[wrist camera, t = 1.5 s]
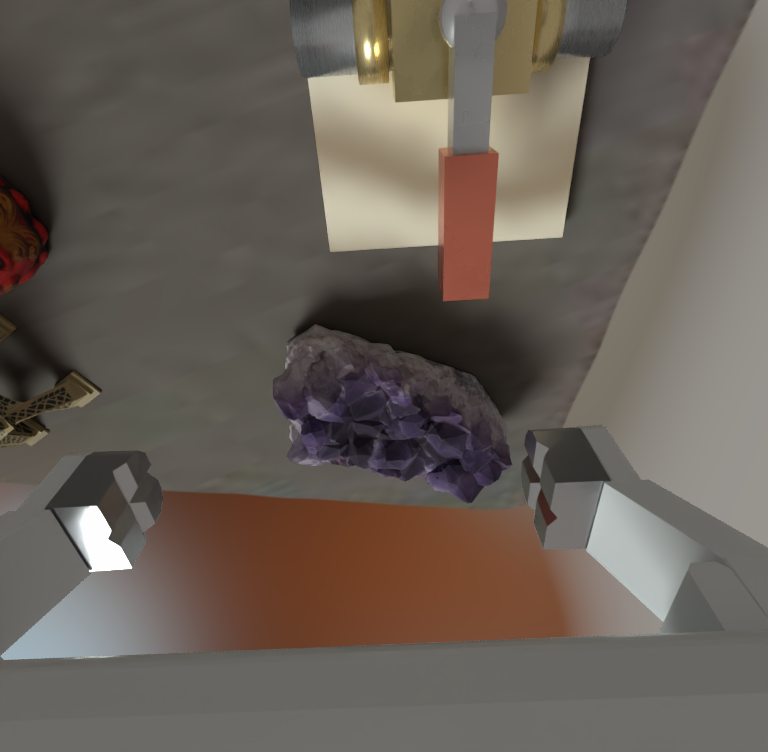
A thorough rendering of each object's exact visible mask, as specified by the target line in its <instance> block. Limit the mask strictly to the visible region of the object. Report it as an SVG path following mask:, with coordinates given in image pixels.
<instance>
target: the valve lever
mask: <svg viewBox="0 0 768 752" xmlns="http://www.w3.org/2000/svg"><path fill="white" fill-rule="evenodd" d="M506 15H507V1H506V0H442V3H441V6H440V10H439V28H440V32H441V35H442V37H443V39H444V41H445V43H446V44H447V45H448V46H449V70H448V142H447V147H446V148H439V150H438V284H439V288H440V291H441V295H442V299H443V301H455V300H472V299H489V287H490V273H491V259H492V244H493V230H494V216H495V202H496V188H497V174H498V159H499V153H498V152H497V151H495V150H494V149H493V148H491V147H490V146H489V137H490V120H491V103H492V86H493V69H494V52H495V41H496V40H497V38H498V37H499V35H500V34H501V32H502V30H503V27H504V24H505V20H506Z"/></svg>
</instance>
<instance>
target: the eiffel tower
mask: <svg viewBox="0 0 768 752" xmlns="http://www.w3.org/2000/svg"><path fill="white" fill-rule="evenodd" d="M16 328H17V327H16V326H15V325H14V324H12V323H11V322H10V321H9V320H7V319H6V318H5V317H3V316H2V315H1V314H0V343H1V342H2V341H3V340H4V339H6V338H7V337H8V336H9V335H10V334H11V333H12V332H13V331H14V330H15V329H16ZM101 392H102V391H100V390H99V389H98V388H97V387H95V386H94V385H93V384H91V383H90V382H89V381H87V380H86V379H85V378H83V377H82V376H81V375H79V374H78V373H77V372H76V371H73V372H71V373H70V374H69V375H68V376H66V377H65V378H64V379H63V380H62V381H60V382H59V383H58V384H57V385H56V386H54V387H53V388H52V389H51V390H49V391H47V392H45V393H43V394H41V395H39V396H37V397H35V398H33V399H30V400H28V401H26V402H19V401H15V400H13V399H10V398H7V397H4V396H2V395H0V447H8V446H16V445H20V444H23V443H27V444H29V445H30V446H33V445H34V444H35V443H36V442H38V441H39V440H40V439H42V438H43V437H44V436H46V435H47V434H48V433H49V432H50V431H48V430H47V429H45V428H44V427H42V426H41V425H39V424H38V423H36V422H35V421H33V420H32V419H30V418H31V417H33V416H36V415H38V414H40V413H43V412H48V411H54V410H61V409H68V408H72V407H73V406H74V407H76V406H77V405H78V406H79V407H81V408H82V407H83V406H85V405H86V404H87V403H88V402H90V401H91V400H92V399H94V398H95V397H96V396H97V395H99V394H100V393H101Z"/></svg>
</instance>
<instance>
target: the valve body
mask: <svg viewBox="0 0 768 752" xmlns="http://www.w3.org/2000/svg"><path fill="white" fill-rule="evenodd" d="M506 1H507V15H506V20H505V24H504V27H503V30H502V32H501V34H500V35H499V37H498V38H497V40H496V41H495V52H494V69H493V86H492V96H495V95H509V94H523V93H529V84H530V74H531V73H536V72H547V71H548V70H549V69H550V68H551V66H552V65H553V63H554V60H562V59H575V58H589V57H603V56H606V55H607V54H608V53H609V52H610V51H611V50H612V48H613V47H614V45H615V43H616V41H617V39H618V36H619V34H620V31H621V28H622V24H623V21H624V17H625V12H626V6H627V0H506ZM441 3H442V0H290V16H291V26H292V34H293V41H294V47H295V53H296V58H297V63H298V67H299V70H300V73H301V76H302V78H316V77H330V76H344V75H357V74H358V80H359V85H371V84H385V83H389V72H392V93H393V98H394V100H395V103H397V102H411V101H425V100H439V99H448V70H449V46H448V45H447V44H446V43H445V41H444V39H443V37H442V35H441V32H440V28H439V10H440V6H441Z"/></svg>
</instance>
